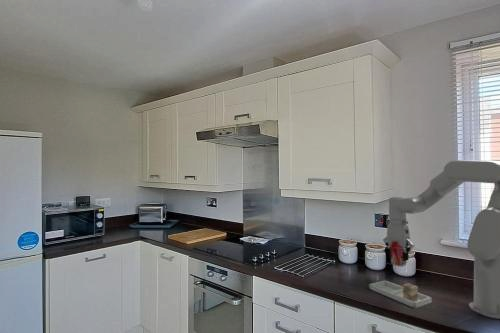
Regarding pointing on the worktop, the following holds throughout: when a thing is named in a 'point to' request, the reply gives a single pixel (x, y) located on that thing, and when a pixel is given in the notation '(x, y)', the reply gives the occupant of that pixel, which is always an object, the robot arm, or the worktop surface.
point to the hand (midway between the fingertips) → (398, 258)
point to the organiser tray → (398, 293)
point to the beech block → (410, 292)
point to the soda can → (397, 254)
